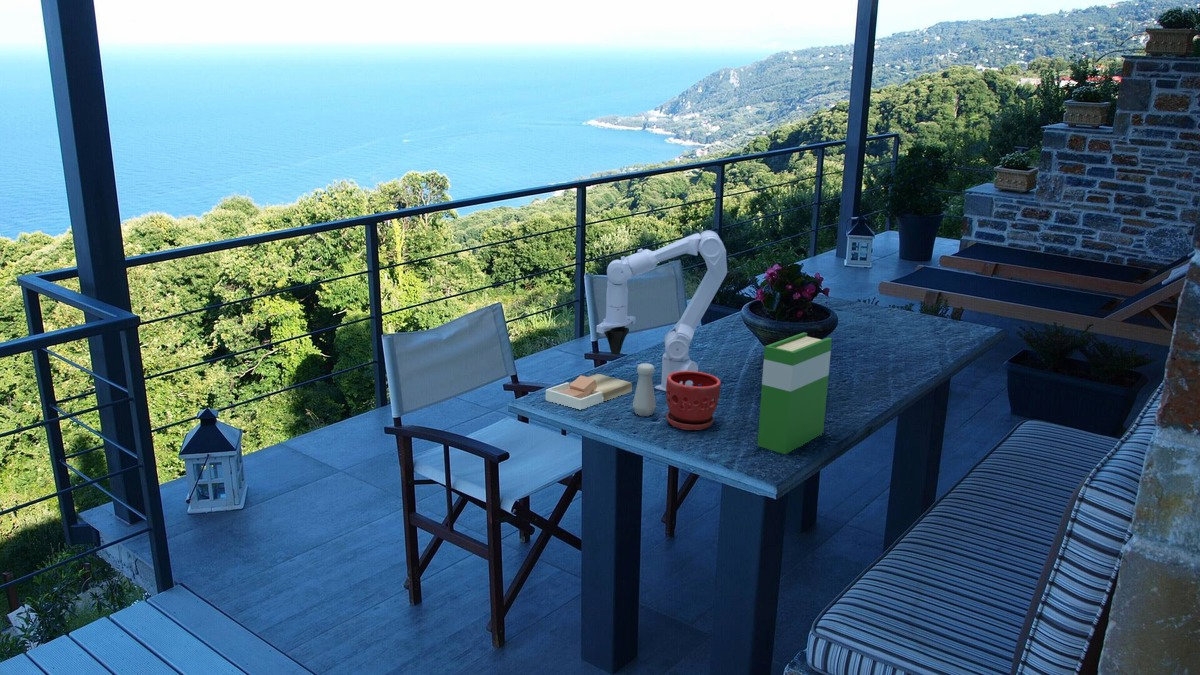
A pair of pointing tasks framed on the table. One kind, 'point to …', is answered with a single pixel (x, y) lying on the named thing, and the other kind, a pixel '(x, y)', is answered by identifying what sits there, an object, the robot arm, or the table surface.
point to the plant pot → (692, 399)
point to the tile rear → (584, 384)
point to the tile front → (574, 393)
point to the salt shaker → (644, 391)
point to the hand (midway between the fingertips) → (615, 353)
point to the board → (610, 386)
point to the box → (572, 398)
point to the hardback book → (793, 392)
